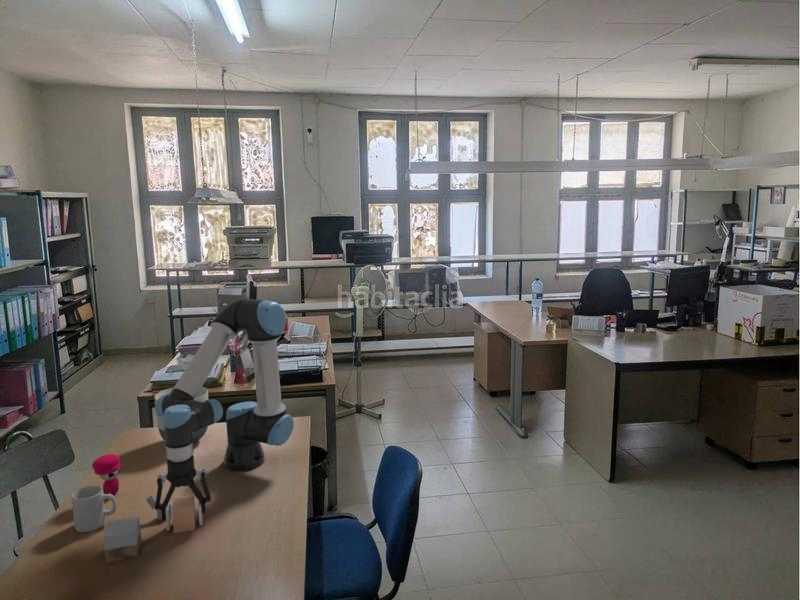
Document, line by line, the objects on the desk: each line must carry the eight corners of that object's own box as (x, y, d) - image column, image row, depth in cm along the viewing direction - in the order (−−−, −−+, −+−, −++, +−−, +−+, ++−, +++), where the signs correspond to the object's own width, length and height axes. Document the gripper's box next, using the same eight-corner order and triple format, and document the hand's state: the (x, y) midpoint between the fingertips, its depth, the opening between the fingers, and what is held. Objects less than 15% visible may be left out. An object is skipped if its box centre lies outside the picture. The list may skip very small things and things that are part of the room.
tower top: (140, 529, 160) (138, 516, 159) (136, 544, 152) (135, 531, 152) (109, 534, 157) (108, 521, 157) (104, 550, 150) (103, 537, 149)
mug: (70, 534, 163) (67, 501, 161) (79, 519, 171) (76, 486, 170) (114, 529, 166) (111, 495, 164) (121, 514, 174) (118, 482, 172)
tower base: (141, 541, 160) (140, 528, 160) (137, 557, 153) (136, 544, 152) (111, 546, 158) (110, 533, 157) (105, 563, 151) (104, 550, 150)
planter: (151, 442, 228) (147, 393, 224) (198, 428, 241) (195, 382, 238) (169, 458, 213) (165, 406, 209) (219, 443, 227) (216, 394, 223)
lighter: (172, 514, 174) (170, 491, 173) (171, 517, 172) (169, 494, 171) (148, 518, 172) (146, 494, 171) (147, 521, 170) (145, 497, 169)
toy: (111, 505, 179) (107, 462, 177) (89, 502, 181) (85, 460, 178) (129, 492, 188) (125, 451, 185) (108, 489, 189) (104, 449, 187)
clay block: (195, 519, 171) (194, 495, 170) (195, 529, 166) (193, 505, 164) (175, 522, 170) (173, 498, 168) (173, 533, 164) (172, 509, 163)
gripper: (217, 446, 171) (221, 513, 174) (143, 456, 164) (148, 524, 168) (217, 457, 164) (221, 526, 167) (139, 467, 157) (145, 538, 161)
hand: (185, 525), depth 168 cm, fingers open, 9 cm apart
